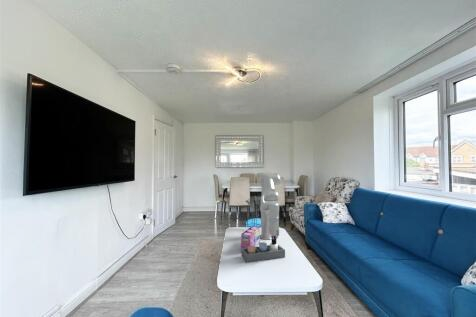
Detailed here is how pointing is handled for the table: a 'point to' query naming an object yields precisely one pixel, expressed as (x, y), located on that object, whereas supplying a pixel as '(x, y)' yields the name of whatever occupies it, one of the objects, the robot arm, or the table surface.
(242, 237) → the gum box
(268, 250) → the gray compartment tray
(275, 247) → the white rounded piece
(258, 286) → the table surface
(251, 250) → the peach rounded egg shape
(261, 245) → the pale blue rounded piece
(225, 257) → the table surface
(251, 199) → the geometric lantern
